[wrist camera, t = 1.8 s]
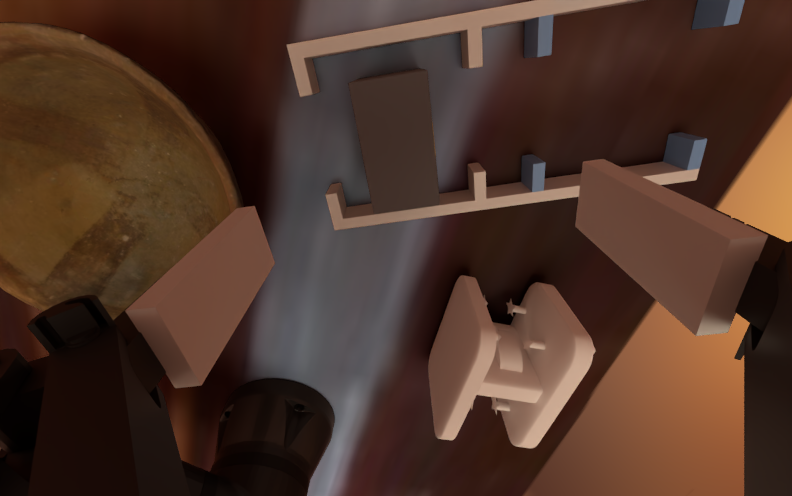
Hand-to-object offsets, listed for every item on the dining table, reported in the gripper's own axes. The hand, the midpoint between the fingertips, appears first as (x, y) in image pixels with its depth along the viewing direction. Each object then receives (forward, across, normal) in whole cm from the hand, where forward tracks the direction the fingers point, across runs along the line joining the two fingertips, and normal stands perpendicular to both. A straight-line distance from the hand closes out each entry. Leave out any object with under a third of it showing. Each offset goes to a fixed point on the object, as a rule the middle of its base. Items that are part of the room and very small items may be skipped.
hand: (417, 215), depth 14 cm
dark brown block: (+19, -1, 0) cm, 19 cm away
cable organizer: (+19, +7, -22) cm, 30 cm away
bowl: (+19, -23, -1) cm, 30 cm away
